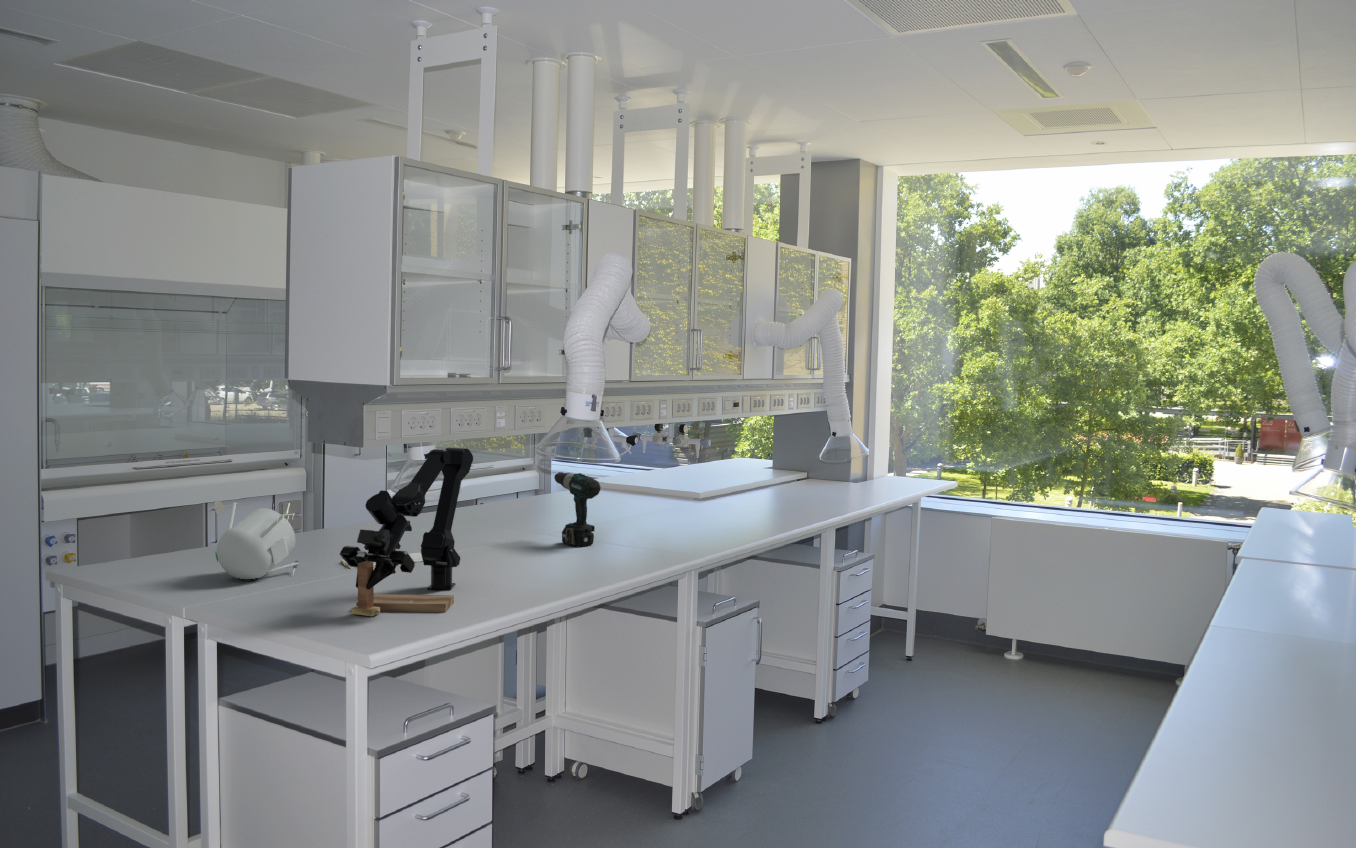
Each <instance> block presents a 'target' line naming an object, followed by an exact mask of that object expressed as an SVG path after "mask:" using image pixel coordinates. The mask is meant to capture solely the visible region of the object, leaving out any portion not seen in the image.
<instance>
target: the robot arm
mask: <svg viewBox="0 0 1356 848" xmlns="http://www.w3.org/2000/svg"><path fill="white" fill-rule="evenodd" d="M427 454H428V455H427V458H426V459H425V461H424V462H423V464H422V465H421V467H420V468H419V469H418V471H417V472H416V474H415V475H414V476H413V478H412V479H411V481H410V482H409V483H408V484H407V485H405V486H403V487H402V488H400V489H398V491H397V492H396V493H395V494H394V495H393V496H392V497H391V494H390V493H389V491H388V490H380V491H379V492H378V493H375V494H374V495H372V496H371V497H370V498H368V499H367V500H366V502H365V509H366V511H367V512H368V513H369V515H370V516H371V517H372V518H373V520H374V521H375V522H376V523H377V524H378V525H381V527H380V528H379V530H371V529H359V532H358V535H357V541H356V543H358V544H362V545H364V547H363V549H365V551H362V550H361V548H359V546H352V545H351V546H350V545H345V546H343V547H342V548H341V550H340V552H339V555H340V558H341V559H342V558H343V559H342V560H345V561H346V563H347V564H348V565H349V566H351V567H357V568H356V569H357V571H356V579H355V587H356V588H357V589H358V563H361V562H376V565H375V567H374V568H373V573H372V574H371V576H370V578H369V580H368V583H367V585H366V588H367V589H368V590H369V589H371V588H372V587H373V586H374V587H375V586H376V585H377V584H379V583H380V582H382V581H383V580H384V579H386V578H387V577H389V576H391V575H395V574H396V573H397V571H396V568H397V567H398V566H399V565H400V566H399V568H400V571H401V572H402V573H409V574H410V573H412V572H413V570H414V569H415V565H416V564H415V563H414V561H413V559H412V558H411V557H410V555H409V554H410V553H409V552H408V551H407V550H406V551H405V550H401V546H402V545H401V543H400V542H401V540H402V537H403V536H404V534H405V532H412V531H413V528H412V525H411V520H407V518H406V517H412V518H414V517H415V518H416V517H418V516H419V515H420V514H421V513H422V510H423V508H424V506H425V504H426V495H427V492H428V491H429V489H430V488H431V486H433V483H435V481H436V479H437V478H438V477H439V475H440V473H441V474H442V475H443V479H442V482H441V483H442V484H441V489H440V493H439V497H438V503H437V506H436V510H435V516H434V521H433V526H432V528H431V529H430V530H429V531H428V532H427V531H425V532H424V533H423V535H422V541H421V544H420V547H421V548H420V553H421V555H422V559H423V562H422V563H423V566H430V584H429V585H428V586H427V587H426V588H427V590H430V591H431V590H435V591H436V590H437V591H438V590H441V591H442V590H444V591H445V590H448V591H451V590H452V589H454V587H455V586H456V582H453V568H457V567H458V566H460V562H461V555H460V554H458V552H457V550H456V549H455V542H456V541H455V538H454V535H453V533H452V528H453V524H454V519H455V513H456V510H457V509H456V508H457V504H458V499H459V494H460V489H461V485H462V481H463V479H465V477H466V476H467V475H468V474H469V473H470V470H471V467H472V464H473V461H474V455H473V453H472V452H471V450H470V449H469V448H466V447H462V448H461V447H446V448H445V449H439V448H437V449H436V448H433V449H431V450H430V451H429V452H428V453H427ZM366 551H367V552H366Z"/></svg>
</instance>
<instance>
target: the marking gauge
mask: <svg viewBox="0 0 1356 848" xmlns="http://www.w3.org/2000/svg"><path fill="white" fill-rule="evenodd" d="M373 571H374V567H373V562H361V563H358V588H357V602H358V606H356V605H355V606H353V607H351V614H352V615H359V616H367V617H374V616H377V615H379V614H381V611H380V607H374V591H375V590H374V587H375V586H373V587H372V588H371V589H369V590H368V589H367V588H366V585H367V583H368V580H369V578H370V576H371V574H372V573H373Z"/></svg>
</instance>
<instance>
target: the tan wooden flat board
mask: <svg viewBox="0 0 1356 848" xmlns="http://www.w3.org/2000/svg"><path fill="white" fill-rule="evenodd" d="M454 603H455V595H454V594H391V593H388V594H386V593H385V594H383V593H379V594H378V593H375V594H374V607H380V612H392V613H393V612H394V613H395V612H398V613H399V612H404V613H405V612H406V613H411V612H414V613H415V612H416V613H446V612H448V610H449V609H450V608H451V607H452V606H453V605H454ZM355 606H358V601H357V602H356V605H355ZM450 606H451V607H450Z"/></svg>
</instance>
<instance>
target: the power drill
mask: <svg viewBox="0 0 1356 848" xmlns="http://www.w3.org/2000/svg"><path fill="white" fill-rule="evenodd" d="M553 478H554V481H555V483H556V484H559V485H561V486H562V487H563V488H564V489H567V490H568V491H569V494H571V495H573V502H574V509H575V515H576V516H575V517H576V521H575V522H570V523H567V524H565V526H564V528H563V530H562V531H561V542H562V543H563V544H565V545H567V544H568V545H567V546H571V547H576V546H580V547H585V546H586V547H587V546H591V545H593V544H594V541H595V540H594V539H595V538H596V536H595V535H594V532H595V530H596V529H595V525H592V524H589V523H588V522H587V519H588V505H587V502H588V499H589V500H591V499H594V498H595V497H597V496H599V494H600V492H601V485H600V482H599V481H598V480H596V479H594V478H593V477H591V476H589V475H586V474H583V473H581V472H578V473H573V472H563V471H559V472H557V473H555V474H554V477H553Z"/></svg>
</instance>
